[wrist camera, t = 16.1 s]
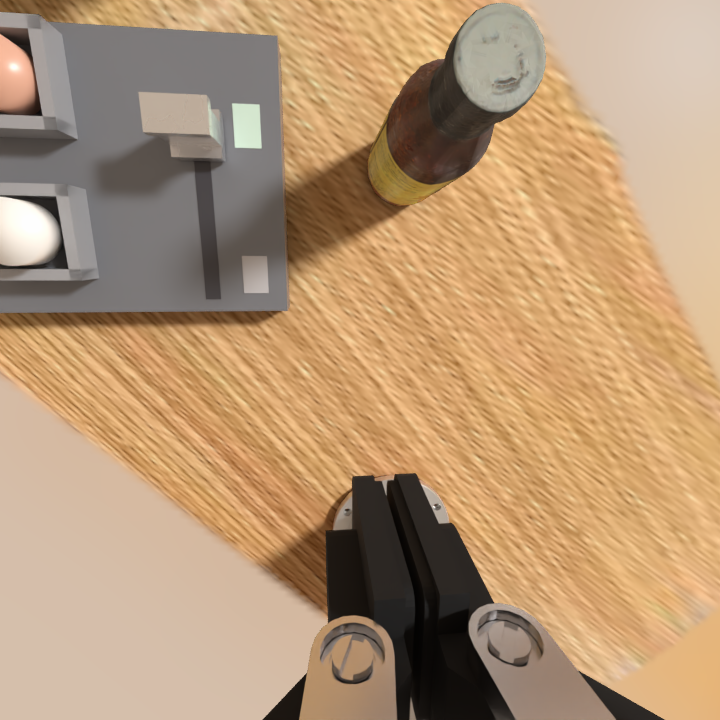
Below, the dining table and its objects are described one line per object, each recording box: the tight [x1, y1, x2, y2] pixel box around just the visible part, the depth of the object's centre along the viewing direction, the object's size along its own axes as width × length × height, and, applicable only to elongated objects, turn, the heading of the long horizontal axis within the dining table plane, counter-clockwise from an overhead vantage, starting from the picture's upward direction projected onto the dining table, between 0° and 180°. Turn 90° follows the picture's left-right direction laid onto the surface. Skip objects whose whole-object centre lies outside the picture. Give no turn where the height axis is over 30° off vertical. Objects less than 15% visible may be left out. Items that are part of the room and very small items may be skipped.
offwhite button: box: [0, 197, 63, 266], centre depth 28 cm, size 4×4×2 cm
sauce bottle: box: [367, 3, 546, 206], centre depth 26 cm, size 6×6×20 cm
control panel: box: [0, 12, 290, 313], centre depth 31 cm, size 20×24×6 cm
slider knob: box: [138, 92, 226, 162], centre depth 28 cm, size 3×4×6 cm
